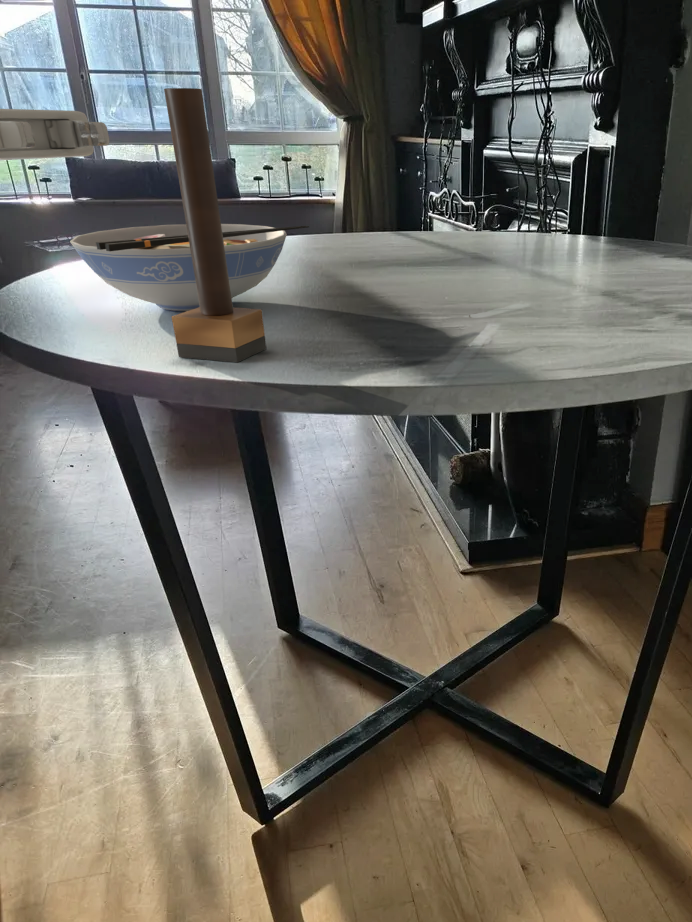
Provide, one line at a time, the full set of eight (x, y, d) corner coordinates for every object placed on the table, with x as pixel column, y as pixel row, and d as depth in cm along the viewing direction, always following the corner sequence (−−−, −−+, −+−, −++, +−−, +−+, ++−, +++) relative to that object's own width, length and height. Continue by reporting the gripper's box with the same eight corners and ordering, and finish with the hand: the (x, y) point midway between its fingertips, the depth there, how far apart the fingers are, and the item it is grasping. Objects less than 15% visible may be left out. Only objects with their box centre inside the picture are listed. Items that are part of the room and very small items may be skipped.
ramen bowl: (228, 279, 103) (218, 211, 99) (342, 301, 90) (336, 224, 86) (40, 308, 88) (19, 228, 83) (145, 340, 75) (126, 247, 70)
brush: (178, 357, 69) (129, 88, 59) (210, 344, 73) (169, 90, 63) (237, 362, 67) (197, 86, 57) (266, 349, 71) (234, 89, 61)
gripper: (25, 170, 77) (148, 172, 74) (-161, 183, 60) (-12, 185, 57) (6, 95, 74) (134, 93, 71) (-196, 85, 57) (-41, 82, 54)
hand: (67, 134), depth 64 cm, fingers open, 8 cm apart
